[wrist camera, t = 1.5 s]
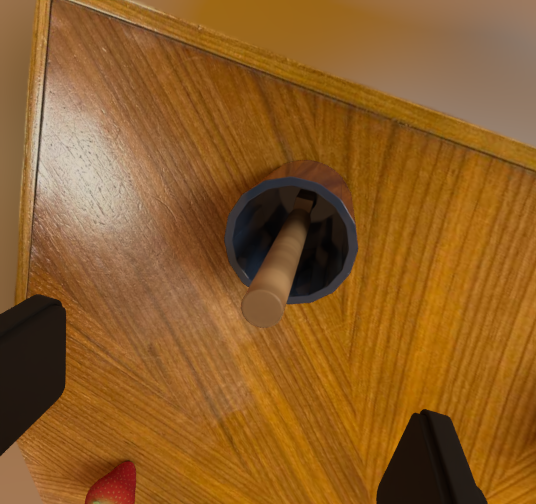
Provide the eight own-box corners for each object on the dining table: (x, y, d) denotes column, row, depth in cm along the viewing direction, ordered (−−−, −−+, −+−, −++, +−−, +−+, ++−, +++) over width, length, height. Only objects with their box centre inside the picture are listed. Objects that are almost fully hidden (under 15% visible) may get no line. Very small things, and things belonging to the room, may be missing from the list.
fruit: (159, 463, 42) (120, 537, 34) (142, 488, 44) (102, 563, 36) (120, 441, 42) (73, 510, 34) (106, 467, 44) (58, 537, 36)
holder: (268, 149, 28) (237, 162, 19) (365, 173, 27) (375, 197, 19) (250, 239, 30) (215, 284, 22) (337, 262, 30) (335, 318, 21)
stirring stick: (298, 188, 28) (248, 267, 13) (318, 193, 27) (292, 279, 13) (289, 225, 29) (233, 337, 14) (308, 230, 29) (273, 349, 14)
